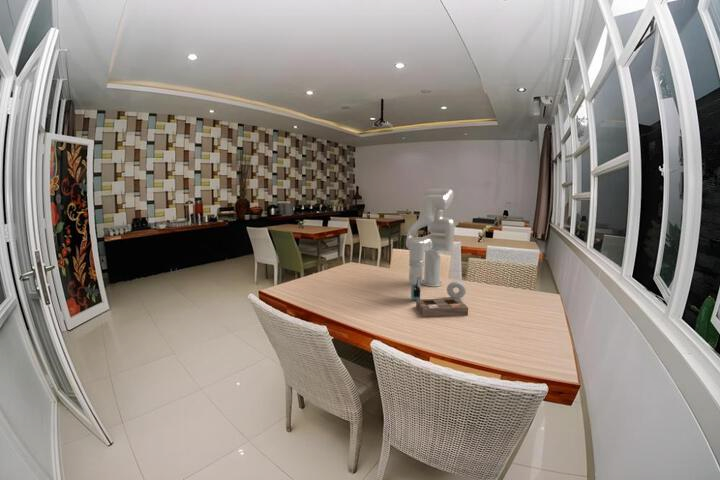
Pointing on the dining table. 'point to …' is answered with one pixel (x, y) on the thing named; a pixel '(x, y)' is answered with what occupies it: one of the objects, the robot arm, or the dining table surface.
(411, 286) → the plug
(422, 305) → the socket block
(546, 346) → the dining table surface
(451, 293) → the donut
